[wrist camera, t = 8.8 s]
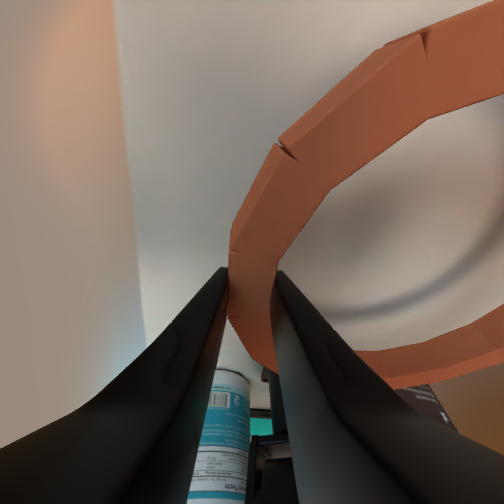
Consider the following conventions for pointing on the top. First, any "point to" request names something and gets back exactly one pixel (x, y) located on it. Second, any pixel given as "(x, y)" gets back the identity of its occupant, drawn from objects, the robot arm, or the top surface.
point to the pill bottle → (223, 444)
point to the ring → (352, 159)
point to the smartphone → (260, 423)
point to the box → (426, 404)
